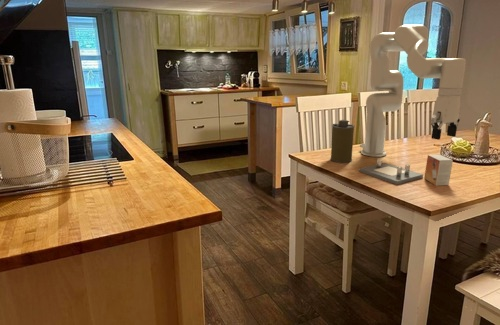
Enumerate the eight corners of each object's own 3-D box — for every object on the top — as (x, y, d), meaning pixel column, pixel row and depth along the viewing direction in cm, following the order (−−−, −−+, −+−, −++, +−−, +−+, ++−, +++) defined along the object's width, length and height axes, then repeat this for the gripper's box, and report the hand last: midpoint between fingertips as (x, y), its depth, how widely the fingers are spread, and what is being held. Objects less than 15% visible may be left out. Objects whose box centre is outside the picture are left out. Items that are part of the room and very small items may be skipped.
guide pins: (371, 168, 151) (372, 159, 149) (382, 165, 154) (383, 157, 153) (399, 177, 139) (400, 168, 137) (410, 174, 142) (411, 165, 140)
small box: (423, 179, 140) (427, 154, 137) (436, 178, 141) (440, 154, 138) (435, 185, 133) (439, 160, 130) (449, 185, 133) (453, 159, 130)
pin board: (359, 171, 151) (359, 167, 151) (383, 165, 159) (384, 162, 158) (396, 184, 135) (397, 180, 134) (422, 177, 142) (423, 173, 141)
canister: (356, 160, 168) (359, 120, 162) (343, 164, 162) (346, 123, 156) (338, 155, 176) (340, 117, 171) (325, 159, 170) (327, 120, 164)
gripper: (453, 90, 133) (447, 133, 138) (425, 93, 126) (420, 138, 130) (473, 92, 127) (466, 136, 132) (445, 94, 119) (438, 142, 124)
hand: (443, 137), depth 131 cm, fingers open, 9 cm apart
